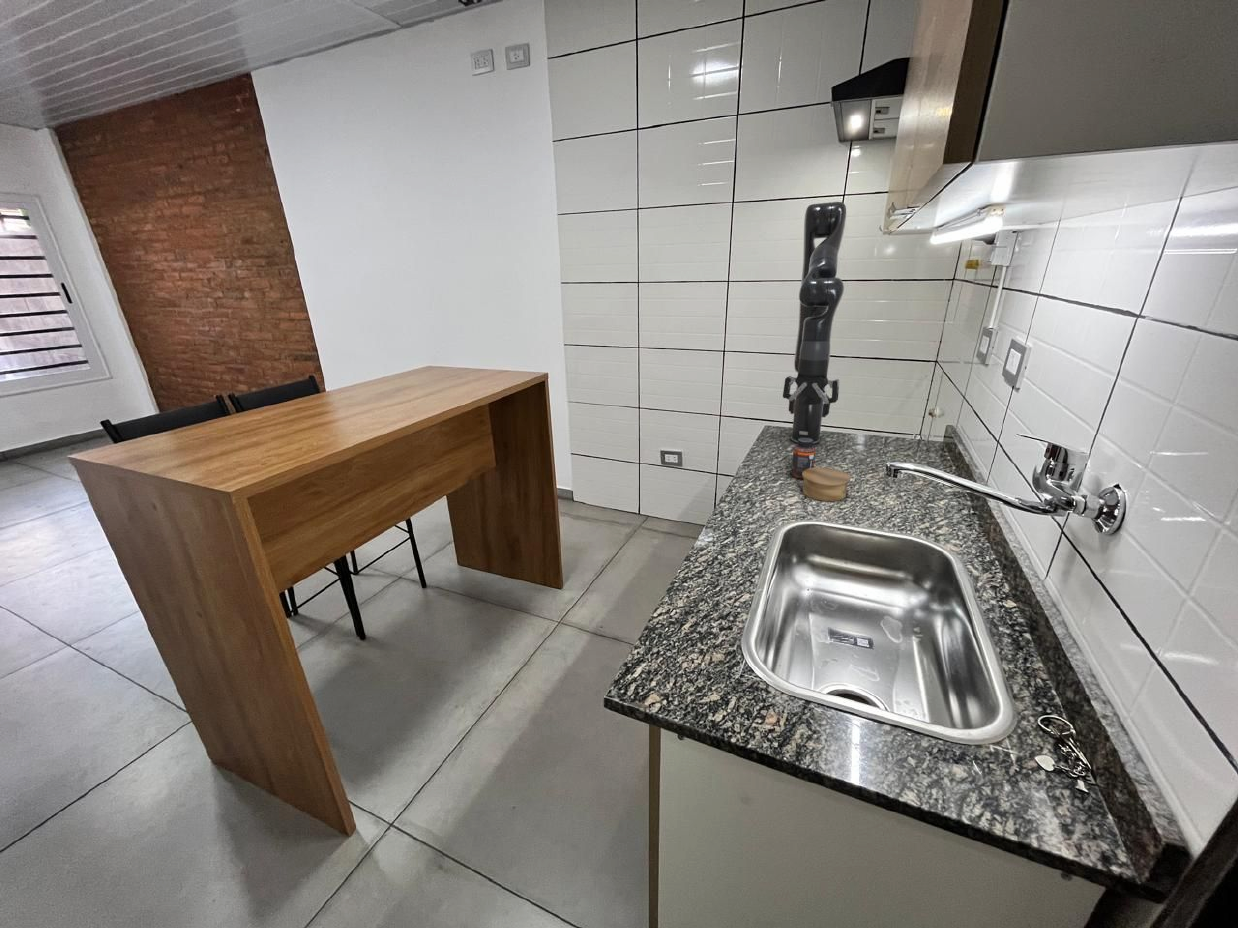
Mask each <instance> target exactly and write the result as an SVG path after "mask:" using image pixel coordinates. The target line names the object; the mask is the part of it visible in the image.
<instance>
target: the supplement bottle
mask: <svg viewBox="0 0 1238 928" xmlns="http://www.w3.org/2000/svg"><path fill="white" fill-rule="evenodd" d="M815 460H816V448H815V446H814V444H813V440H812V439H810V438H799V439H798V443H797V444H796V445H795V446H794V447H793V453H792V463H791V464H792V465H791V475H792V476H793V477H794V478H795V479H800V480H804V478H803V477H802V473H803V471H804V470H806V469H809V468H815Z"/></svg>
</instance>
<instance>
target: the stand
mask: <svg viewBox="0 0 1238 928" xmlns="http://www.w3.org/2000/svg"><path fill="white" fill-rule="evenodd" d="M802 477H803V478H804V479H802V480H803V481H802V493H803V494H804V496H807V497H809V498H811V499H813V500H817V501H823V502H836V501H837V502H838V501H841V500H843V499H845V498H846V497H847V490H848V484H849V483H851V482H850V481H851V476H850V474H848V473H846V472H844V471H842V470H839V469H835V468H832V467H819V466H817V467H814V468H809V469H806V470H804V471H803V473H802Z"/></svg>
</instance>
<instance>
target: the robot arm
mask: <svg viewBox="0 0 1238 928" xmlns="http://www.w3.org/2000/svg"><path fill="white" fill-rule="evenodd" d="M846 220H847V206H846V204H845V203H844V202H842V201H830V202H821V203H812V204H809V205H808V206H807V207H806V210H805V214H804V221H803V256H802V257H803V261H802V271H801V272H802V273H801V282H800V288H799V291H798V300H799V310H798V328H797V337H796V344H795V351H794V360H793V361H794V362H793V364H794V367H793V368H794V370H795V372H796V373H797V375H796V377H795V376H794V377H793V376H792V375H788V376H786V377H785V379H784V383H783V384H784V386H783V390H782V398H783V399H787V400H788V412H790V415H793V419H792V420H793V421H792V422H793V423H792V429H791V437H790V440H791V441H792V442H794V443H796V444H798V439H799V438H810V439H812V440H813V445H816V444H818V443H820V441H821V440H820V437H821V436H820V435H821V430H822V429H821V428H822V421H823V420H822V419H823V418H826V417H827V416H828V415H829V414H830V407H831V404H835V403H837V401H838V400H839V392H840V379H839V378H836V379H828V371H829V364H830V359H831V336H832V328H833V322H834V318H835V315H836V312H837V310H838V307H839V305H840V302H841V300H842V298H843V295H844V292H845V284H844V282H843V281H842V279H841V278H840V277H836V276H837V274H838V261H839V260H838V259H839V252H840V248H841V245H842V242H843V238H844V232H845V227H846V222H847V221H846ZM817 239H823V240H822V241H821V242H820V243H819V244H818V245H817V246H816V242H815V241H816V240H817ZM794 383H795V384H796V389H795V391H794V392H793V393H792V394H791V388H792V387H791V386H792V385H793V384H794ZM828 385H829V388H830V389H831V397H830V396H829V395H828V392H827V390H826V387H827V386H828Z"/></svg>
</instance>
